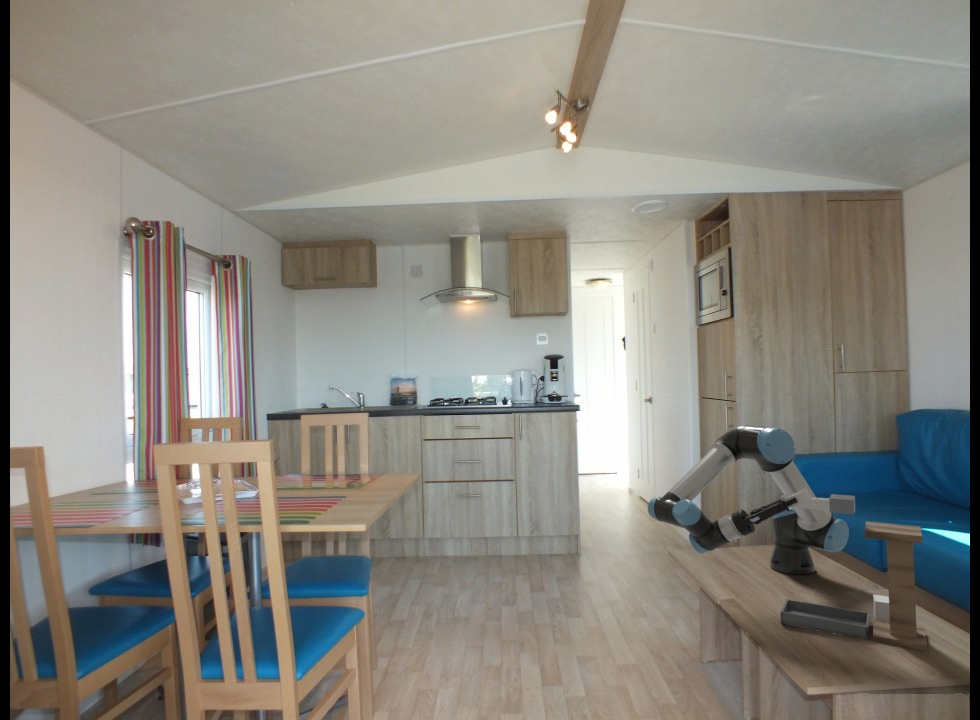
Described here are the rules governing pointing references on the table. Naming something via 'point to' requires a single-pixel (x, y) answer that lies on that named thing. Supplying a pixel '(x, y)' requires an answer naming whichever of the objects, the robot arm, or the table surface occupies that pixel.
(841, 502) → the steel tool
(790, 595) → the table surface
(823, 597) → the table surface
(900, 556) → the shelf post
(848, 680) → the table surface
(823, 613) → the tray
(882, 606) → the white cube
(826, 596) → the table surface
